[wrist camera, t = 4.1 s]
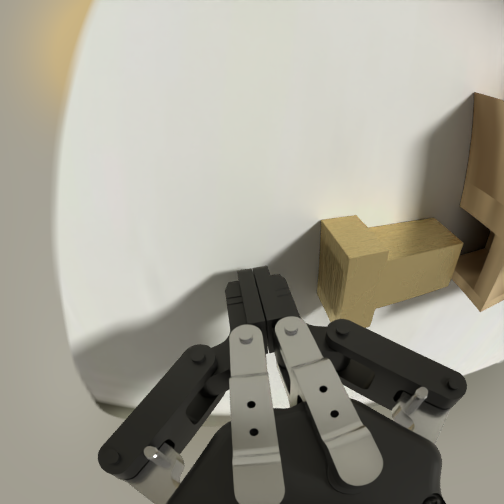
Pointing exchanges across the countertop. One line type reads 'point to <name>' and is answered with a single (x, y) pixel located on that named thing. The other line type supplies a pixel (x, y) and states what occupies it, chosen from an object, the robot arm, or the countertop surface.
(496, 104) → the socket block
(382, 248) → the block
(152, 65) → the countertop surface
